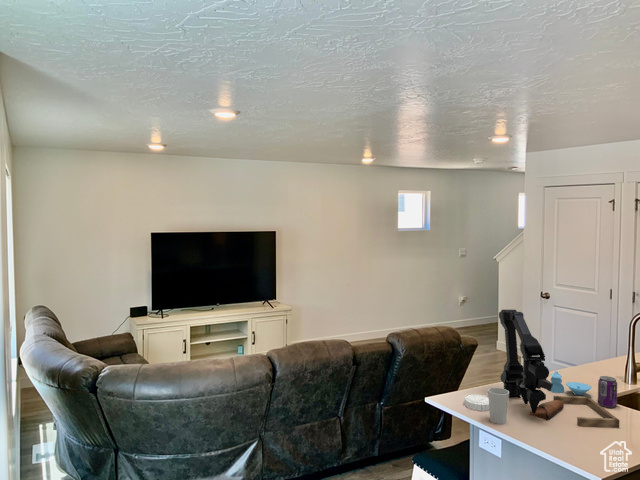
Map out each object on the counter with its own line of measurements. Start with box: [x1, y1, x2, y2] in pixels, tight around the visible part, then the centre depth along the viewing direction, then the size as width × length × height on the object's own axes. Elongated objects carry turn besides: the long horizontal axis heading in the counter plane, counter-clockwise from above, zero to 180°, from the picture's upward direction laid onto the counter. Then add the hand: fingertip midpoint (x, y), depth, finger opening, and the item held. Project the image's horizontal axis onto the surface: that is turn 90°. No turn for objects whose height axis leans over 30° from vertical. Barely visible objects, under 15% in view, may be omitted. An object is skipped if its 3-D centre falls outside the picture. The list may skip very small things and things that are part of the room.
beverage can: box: [597, 375, 618, 409], centre depth 206 cm, size 7×7×12 cm
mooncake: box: [463, 393, 489, 412], centre depth 205 cm, size 12×12×4 cm
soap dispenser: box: [550, 371, 593, 397], centre depth 220 cm, size 18×10×9 cm, turn 53°
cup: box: [487, 387, 510, 425], centre depth 189 cm, size 8×8×12 cm
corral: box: [552, 395, 620, 429], centre depth 196 cm, size 15×25×3 cm, turn 175°
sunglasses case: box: [528, 400, 565, 421], centre depth 198 cm, size 18×7×7 cm, turn 135°
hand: (529, 408), depth 198 cm, fingers open, 9 cm apart
